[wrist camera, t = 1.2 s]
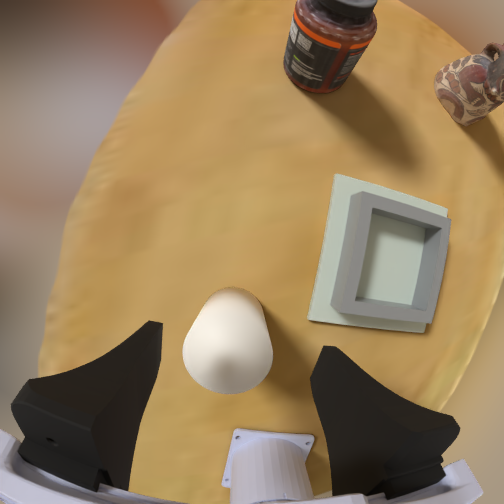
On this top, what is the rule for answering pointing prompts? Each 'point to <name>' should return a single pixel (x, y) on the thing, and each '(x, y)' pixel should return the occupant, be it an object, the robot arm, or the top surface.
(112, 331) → the top surface
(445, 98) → the figurine
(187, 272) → the top surface
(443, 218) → the cup holder
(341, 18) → the supplement bottle
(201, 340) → the cream white egg
